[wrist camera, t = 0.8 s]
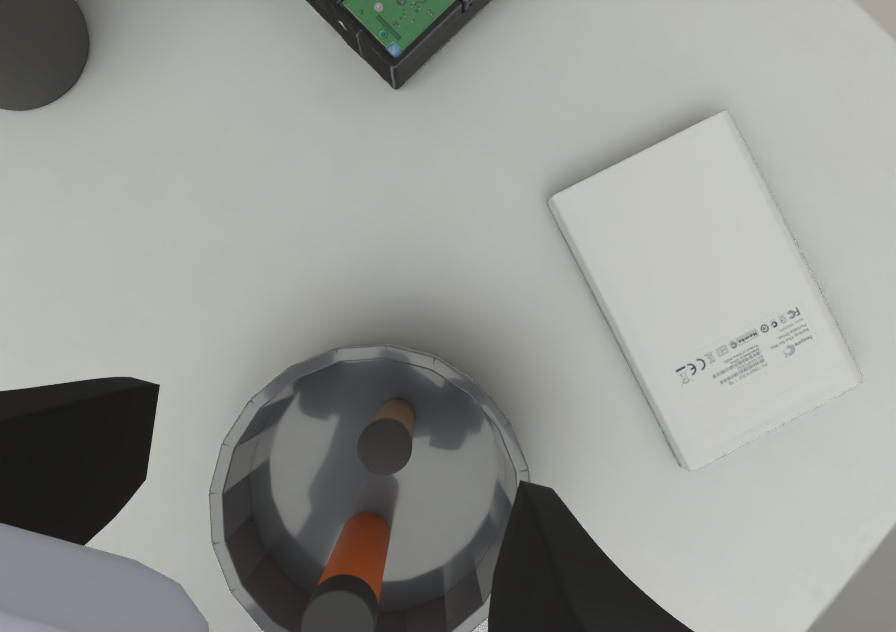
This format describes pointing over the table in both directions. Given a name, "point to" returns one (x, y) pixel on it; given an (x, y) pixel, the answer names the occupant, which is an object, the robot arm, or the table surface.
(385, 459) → the brown slender rod
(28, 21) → the bottle
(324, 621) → the marker
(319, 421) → the pot
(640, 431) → the table surface
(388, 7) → the disk drive
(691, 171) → the hard drive
